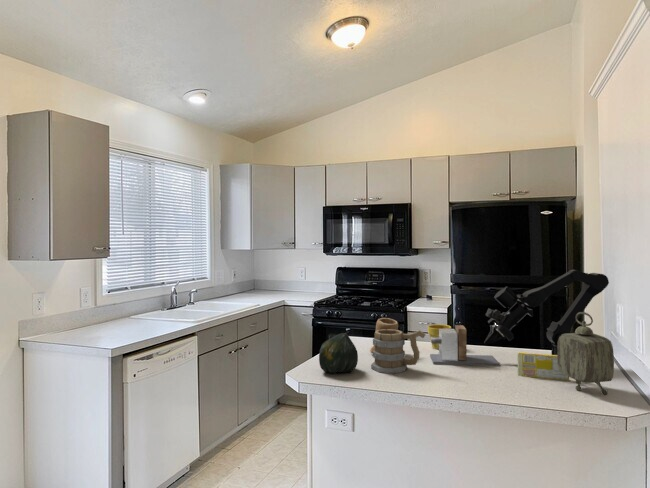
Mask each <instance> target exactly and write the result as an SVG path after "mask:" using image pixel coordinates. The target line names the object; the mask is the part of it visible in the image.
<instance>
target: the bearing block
mask: <svg viewBox="0 0 650 488" xmlns="http://www.w3.org/2000/svg"><path fill="white" fill-rule="evenodd" d="M439 338H441V344H439V349H438V354H439V356H440V358H441V360H442V361H458V343H457V332H456V331H455V328H451V329H439Z"/></svg>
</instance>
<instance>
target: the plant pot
mask: <svg viewBox="0 0 650 488" xmlns="http://www.w3.org/2000/svg"><path fill="white" fill-rule="evenodd" d="M439 329H452V326H450V325H447V324H429V325H427V334H428V335H429V338H430V340H431V337H433V338H439ZM431 348H432V349H434V350H439V344H432V343H431Z"/></svg>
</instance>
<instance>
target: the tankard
mask: <svg viewBox="0 0 650 488" xmlns="http://www.w3.org/2000/svg"><path fill="white" fill-rule="evenodd" d="M425 336H426V333H424V332H423V331H422V330H417V331H415V332H412V333H404V331H402V330H399V329H398V330H392V329H387V330H386V329H383V330H377V331H376V330H375V332H374V337H373V338H372V345H373V346H374V345H375V350H374V351H373V353H372V358H373V359H374V361H373V362H372V363H371V364H370V368H371V370H374V371H376V372H377V373H383V374H396V373H397V374H398V373H404V372H405V371H406V369H407V368H408V366H415V365H416V364H417V363H418V362H419V359H420V353H421V352H420V350H419V347H418V343H417V338H418V337H420V338H422V339H424V338H425ZM408 339H409V341H410V347H411V350H412V353H413V358H411V359H409V358H405V357H406V351H405V350H404V345H405V343H406V341H405V340H408Z"/></svg>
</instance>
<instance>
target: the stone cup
mask: <svg viewBox="0 0 650 488" xmlns="http://www.w3.org/2000/svg"><path fill="white" fill-rule="evenodd" d="M383 329H386V330H387V329H392V330H399V322H398V321H397V320H395V319H393V318H389V317H381V318H378V319H377V321H376V323H375V332H376V331H377V330H383ZM374 350H375V345H373V346H372V347H371V348H370V350H369V352H370V354H373V351H374Z"/></svg>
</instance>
